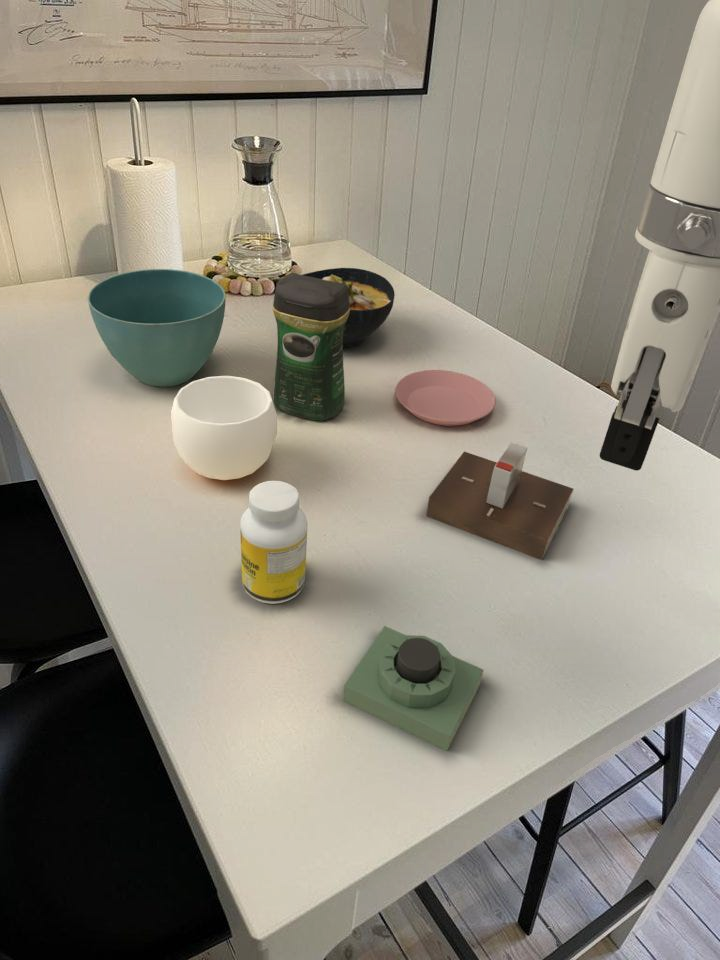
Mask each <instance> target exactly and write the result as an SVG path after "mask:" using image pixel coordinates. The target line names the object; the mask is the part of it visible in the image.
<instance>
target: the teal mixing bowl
mask: <svg viewBox="0 0 720 960" xmlns="http://www.w3.org/2000/svg"><path fill="white" fill-rule="evenodd" d="M226 295H227V294H226V291H225V288H224V287H223V286H222V285H221V284H219V282H217V281H216V280H214V279H212V278H209V277H208V276H205V275H203V274H200V273H196V272H194V271H193V272H192V271H187V270H181V269H172V268H150V269H149V268H148V269H137V270H131V271H126V272H123V273H118V274H115V275H112V276H110V277H107V278H105V279H103V280H101V281H99V282H98V283H96V284H95V285H94V286H93V287H92V288H91V289H90V291H89V292H88V295H87V302H88V308H89V312H90V315H91V318H92V320H93V323H94V326H95V329H96V330H97V333H98V335H99V337H100V339H101V341H102V342H103V344H104V346H105V347H106V349H107V350H108V351H109V353H110V354H111V356H112V357H113V359H115V361H116V362H117V364H119V365H120V366H121V367H122V368H123V369H124V370H126V371H127V373H129V374H130V375H131V376H133V377H134V378H135V379H136V380H137V381H138V382H141V383H143V384H144V385H147V386H152V387H159V388H167V387H175V386H178V385H182V384H184V383H187V382H188V381H190V380H191V379H192V378H193V377H194V376H196V374H197V373H198V372H199V371H200V370H201V369H202V368H203V366H204V365H205V363H207V361H208V359H209V358H210V356H211V354H212V353H213V351H214V349H215V347H216V345H217V343H218V340H219V337H220V334H221V331H222V328H223V324H224V318H225V311H226V302H227V301H226V299H227V297H226Z"/></svg>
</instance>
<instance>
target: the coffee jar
mask: <svg viewBox="0 0 720 960" xmlns="http://www.w3.org/2000/svg"><path fill="white" fill-rule="evenodd" d="M272 312H273V315H274V318H275V322H276V328H277V329H276V330H277V350H276V361H275V362H276V363H275V373H274V381H273V394H272V397H273V398H272V400H273V404H274V407H275V408H276V409H277V410H278V411H281V412H282V413H286V414H288V415H291V416H294V417H299V418H301V419H302V418H303V419H308V420H312V421H321V422H322V421H326V420H328V419H332V418H333V417H335V416H336V415H338V414H339V413H340V412H341V410H342V409H343V406H344V405H345V398H346V397H345V395H346V394H345V393H346V390H345V370H344V349H343V330H344V325H345V323H346V321H347V319H348V316H349V312H350V303H349V292H348V287H347V285H346V284H345V283H338V282H332V281H327V280H323V279H318V278H313V277H308V276H303V274H299V273H296V272H295V271H291V272H289V273H287V274H286V275H284V276H283V277H282V278H280V279H279V280H278V281H277V283H276V285H275V289H274V296H273V303H272Z"/></svg>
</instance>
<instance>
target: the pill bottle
mask: <svg viewBox="0 0 720 960" xmlns="http://www.w3.org/2000/svg"><path fill="white" fill-rule="evenodd" d="M239 525H240V526H239V527H240V528H239V530H240V531H239V532H240V534H239V535H240V556H241V557H240V558H241V559H240V560H241V561H240V562H241V564H240V565H241V583H242V587H243V589H244V591H245V592H246V594H248V596H249V597H251V598H252V599H254V600H255V601H258V602H260V603H262V604H263V603H264V604H270V605H273V604H276V605H277V604H282V603H285V602H288V601H291V600H293V599H294V598H296V597H297V596H298V595H299V594H300V593H301V591H302V590H303V588H304V586H305V583H306V570H307V569H306V567H307V563H306V562H307V545H308V519H307V516H306V514H305V512H304V511H303V509H301V507H300V494H299V491H298V489H296V487H295V486H294V485H292V484H290V483H288V482H284V481H280V480H267V481H263V482H260V483H258V484H256V485H255V486H253V487H252V489H251V490H250V492H249V494H248V508H247V509H245V511H244V512H243V514H242V516H241V518H240V524H239Z"/></svg>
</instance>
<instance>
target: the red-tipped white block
mask: <svg viewBox="0 0 720 960" xmlns="http://www.w3.org/2000/svg"><path fill="white" fill-rule="evenodd" d="M527 451H528V447H527V446H524V445H521V444H518V443H515V442H510V444H508V445H507V448H506V449H505V451H503V453H502V455H501V456H500V458H499V459H498V461H497V464H496V465H495V467H494V469H493V474H492V478H491V483H490V487H489V492H488V497H487V501H486V503H488V504H491V505H494V506H497V507H499V508H503V507H504V505H505V504H506V502H507V501H508V499H509V497H510V496H511V494H512V493H513V491H514V489H515V488H516V486H517V485H518V483H519V480H520V476H521V472H522V471H523V468H524V463H525V460H526V456H527Z"/></svg>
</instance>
